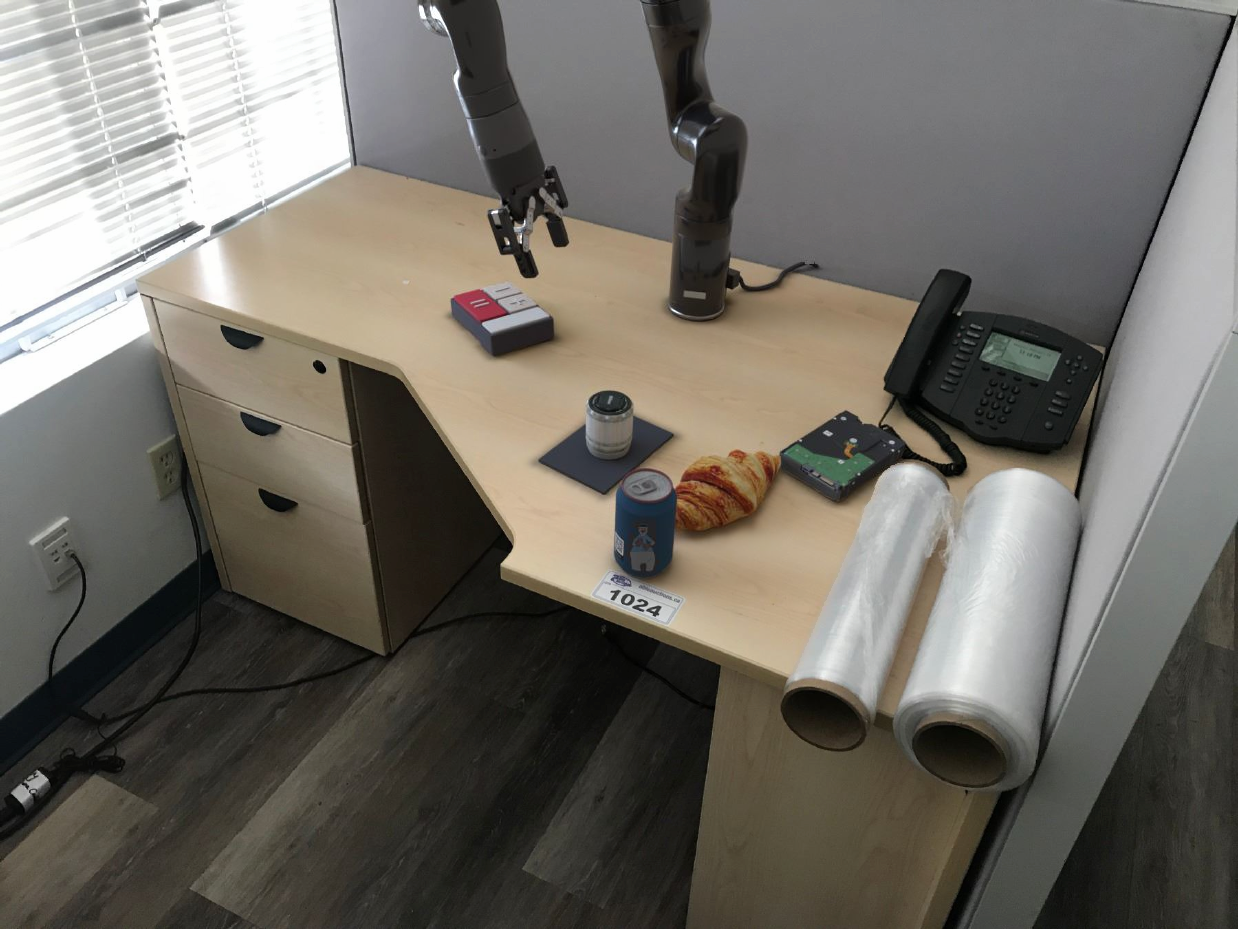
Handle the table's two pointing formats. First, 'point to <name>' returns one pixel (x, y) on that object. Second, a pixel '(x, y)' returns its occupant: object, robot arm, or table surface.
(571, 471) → the felt mat
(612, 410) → the camera lens
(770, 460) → the croissant
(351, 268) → the table surface
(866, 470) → the disk drive
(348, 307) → the table surface
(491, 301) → the calculator
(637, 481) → the soda can
